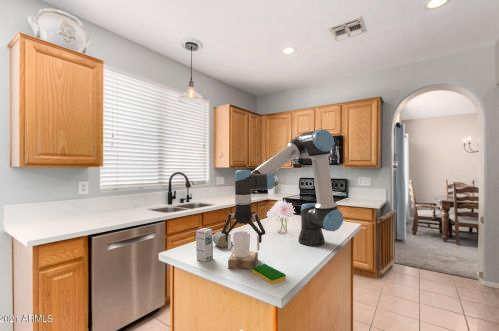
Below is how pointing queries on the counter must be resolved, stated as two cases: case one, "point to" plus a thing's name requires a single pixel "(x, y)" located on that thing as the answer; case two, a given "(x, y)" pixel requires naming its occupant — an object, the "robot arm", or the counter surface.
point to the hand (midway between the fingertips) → (243, 249)
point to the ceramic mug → (220, 239)
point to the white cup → (241, 244)
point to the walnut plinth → (243, 261)
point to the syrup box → (204, 244)
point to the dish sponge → (269, 273)
